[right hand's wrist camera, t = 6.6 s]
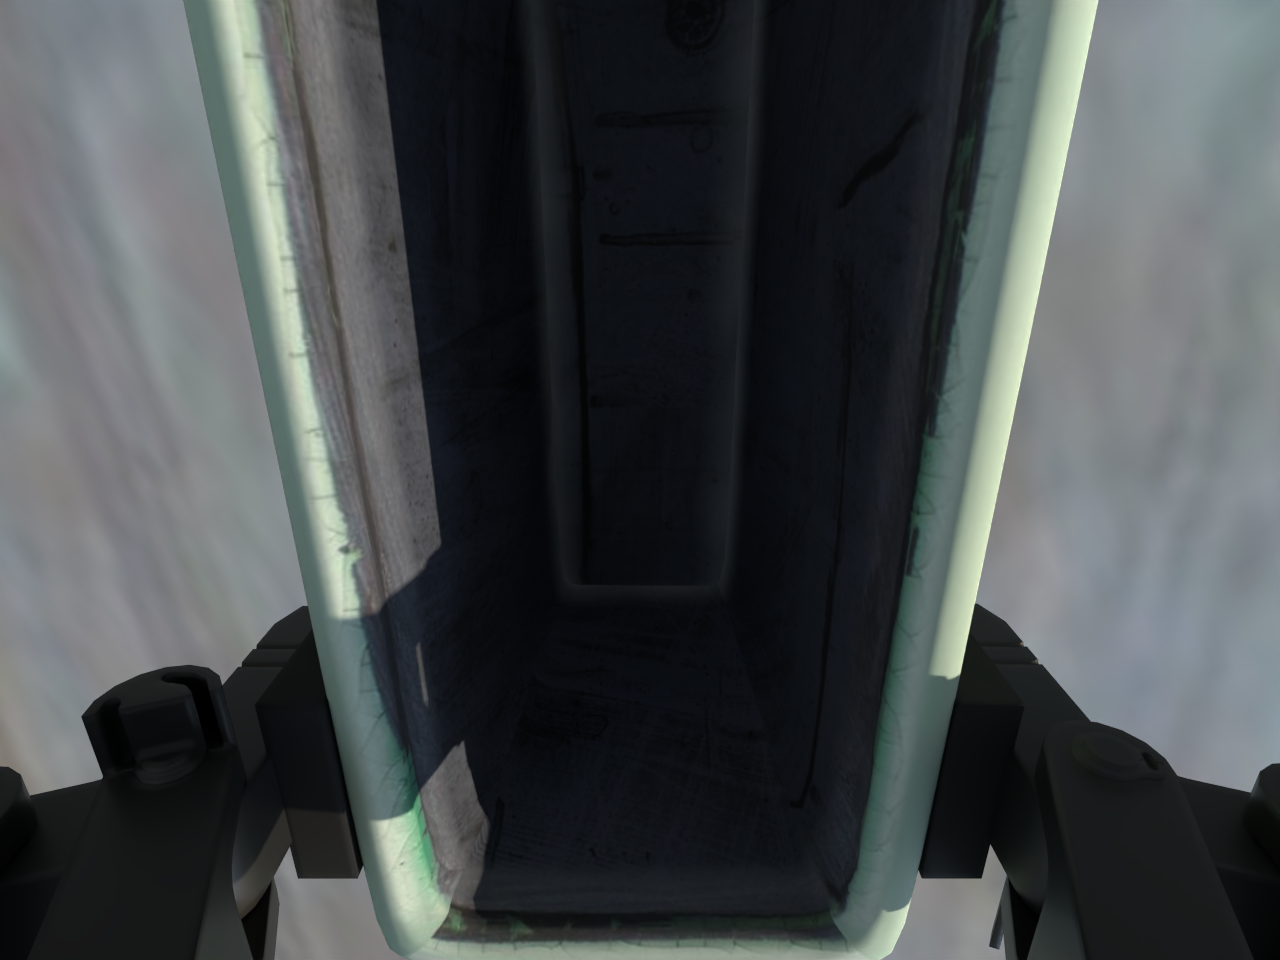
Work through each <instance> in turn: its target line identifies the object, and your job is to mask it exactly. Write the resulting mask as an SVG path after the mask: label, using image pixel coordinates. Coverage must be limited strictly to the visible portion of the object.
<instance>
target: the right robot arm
mask: <svg viewBox="0 0 1280 960" xmlns="http://www.w3.org/2000/svg"><path fill="white" fill-rule="evenodd" d="M81 717H82V720H83V723H84V725H85V728H86V731H87V733H88V736H89V739H90V742H91V744H92V747H93V750H94V753H95V755H96V758H97V761H98V763H99V766H100V769H101V772H102V774H103V778H102V779H101V780H97V781H94V782H90V783H85V784H81V785H76V786H72V787H67V788H63V789H58V790H54V791H49V792H45V793H40V794H36V795H31V796H29V793H28V791H27V788H26V786H25V784H24V781H23V779H22V777H21V775H20V774H19V773H17V772H16V771H14V770H13V769H11V768H9V767H0V960H274V957H275V946H276V935H277V924H278V914H279V899H278V893H277V888H276V884H275V881H274V875H275V873H276V871H277V869H278V867H279V866H280V864H281V862H282V860H283V858H284V856H285V854H286V852H287V851H288V849H289V847H290V848H291V852H292V856H293V860H294V864H295V868H296V872H297V876H298V878H358V876H359V874H360V871H361V869H362V867H363V862H362V858H361V854H360V850H359V845H358V840H357V836H356V831H355V826H354V822H353V817H352V812H351V808H350V803H349V798H348V794H347V789H346V784H345V779H344V775H343V770H342V765H341V760H340V756H339V751H338V746H337V741H336V737H335V732H334V727H333V722H332V718H331V713H330V708H329V703H328V699H327V695H326V690H325V685H324V681H323V676H322V671H321V666H320V661H319V656H318V652H317V647H316V642H315V637H314V632H313V628H312V623H311V618H310V613H309V608H308V606H302V607H300V608H299V609H297V610H296V611H294V612H293V613H291V614H289V615H288V616H286V617H285V618H283V619H282V620H280V621H278V622H277V623H275V624H274V625H273V626H272V628H271V629H270V630H269V631H268V632H267V634H266V635H265V636H264V637H263V638H262V639H261V641H260V642H259V643H258V644H257V649H253V650H252V651H251V652H250V654H249V655H248V656H247V657H246V658H245V659H244V661H243V662H242V667H238V668H237V669H236V670H235V671H234V672H233V674H232V675H231V676H230V677H229V678H228V680H227V681H226V682H225V683H224V684H223V685H222V683H221V679H220V676H219V675H218V674H216V673H215V672H214V671H212V670H211V669H209V668H206V667H200V666H194V665H184V666H173V667H165V668H162V669H158V670H155V671H151V672H147V673H144V674H140V675H138V676H136V677H134V678H132V679H129V680H127V681H125V682H123V683H121V684H119V685H116V686H115V687H113V688H112V689H110V690H109V691H107V692H106V693H105V694H103V695H102V696H100V697H99V698H98V699H96V700H95V701H94V702H93V703H92V704H91V705H90V707H89V708H88V709H87V710H86V712H85V713H84V714H83V715H82V716H81ZM990 844H991V846H992V848H993V850H994V851H995V853H996V855H997V857H998V859H999V861H1000V863H1001V864H1002V866H1003V868H1004V870H1005V872H1006V874H1007V877H1006V881H1005V884H1004V888H1003V892H1002V895H1001V899H1000V903H999V907H998V910H997V914H996V918H995V921H994V925H993V929H992V934H991V939H990V945H989V947H992V948H996V949H999V948H1000V944H1001V941H1002V937H1003V934H1004V944H1005V954H1006V960H1280V763H1278V764H1271V765H1270V766H1268V767H1266V768H1265V769H1263V770H1262V771H1260V773H1259V775H1258V777H1257V780H1256V782H1255V785H1254V787H1253V789H1252V792H1251V793H1249V792H1245V791H1240V790H1236V789H1231V788H1227V787H1222V786H1218V785H1213V784H1209V783H1204V782H1200V781H1195V780H1191V779H1186V778H1183V777H1179V776H1177V775H1176V773H1175V772H1174V770H1173V769H1172V767H1171V766H1170V765H1169V763H1168V762H1167V760H1166V759H1165V758H1164V757H1163V756H1161V755H1160V754H1159V753H1158V752H1157V751H1155V750H1154V749H1153V748H1152V747H1150V746H1149V745H1148V744H1147V743H1145V742H1143V741H1141V740H1139V739H1138V738H1136V737H1134V736H1132V735H1130V734H1128V733H1126V732H1124V731H1122V730H1119V729H1116V728H1113V727H1110V726H1107V725H1104V724H1100V723H1097V722H1091V721H1090V720H1089V719H1088V718H1087V717H1086V715H1085V714H1084V713H1083V712H1082V711H1081V710H1080V708H1079V707H1078V706H1077V705H1076V704H1075V703H1074V701H1073V700H1072V699H1071V698H1070V697H1069V695H1068V694H1067V693H1066V692H1065V691H1064V690H1063V688H1062V687H1061V686H1060V685H1059V684H1058V683H1057V681H1056V680H1055V679H1054V678H1053V677H1052V676H1051V674H1050V673H1049V672H1048V671H1047V670H1046V669H1045V667H1044V666H1043V665H1042V664H1038V659H1037V658H1036V657H1035V656H1034V654H1033V653H1032V652H1031V651H1030V650H1029V649H1028V647H1024V646H1023V642H1022V640H1021V639H1020V638H1019V637H1018V636H1017V635H1016V633H1015V632H1014V631H1013V630H1012V629H1011V628H1010V626H1009V625H1008V624H1007V623H1006V622H1005V621H1004V620H1002V619H1000V618H999V617H997V616H996V615H994V614H993V613H991V612H990V611H988V610H986V609H985V608H983V607H982V606H980V605H979V604H975V605H974V610H973V615H972V619H971V624H970V629H969V634H968V639H967V644H966V649H965V653H964V658H963V663H962V668H961V673H960V678H959V683H958V687H957V692H956V697H955V701H954V706H953V711H952V715H951V720H950V725H949V730H948V735H947V739H946V744H945V749H944V754H943V758H942V763H941V768H940V773H939V777H938V782H937V787H936V792H935V796H934V801H933V806H932V810H931V815H930V820H929V825H928V829H927V834H926V839H925V843H924V848H923V853H922V857H921V861H920V865H919V869H918V870H919V872H920V875H921V877H922V878H982V874H983V870H984V867H985V863H986V859H987V855H988V851H989V847H990Z"/></svg>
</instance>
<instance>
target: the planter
mask: <svg viewBox="0 0 1280 960" xmlns="http://www.w3.org/2000/svg"><path fill="white" fill-rule="evenodd" d="M183 2H184V7H185V11H186V16H187V21H188V26H189V31H190V36H191V41H192V46H193V50H194V55H195V60H196V65H197V70H198V75H199V80H200V85H201V89H202V94H203V99H204V104H205V109H206V114H207V119H208V124H209V128H210V133H211V138H212V143H213V148H214V153H215V158H216V163H217V167H218V172H219V177H220V182H221V187H222V192H223V197H224V202H225V206H226V211H227V216H228V221H229V226H230V231H231V236H232V241H233V245H234V250H235V255H236V260H237V265H238V270H239V275H240V280H241V284H242V289H243V294H244V299H245V304H246V309H247V314H248V319H249V323H250V328H251V333H252V338H253V343H254V348H255V352H256V357H257V362H258V367H259V372H260V377H261V381H262V386H263V391H264V396H265V401H266V405H267V410H268V415H269V420H270V425H271V430H272V434H273V439H274V444H275V449H276V454H277V459H278V463H279V468H280V473H281V478H282V483H283V488H284V492H285V497H286V502H287V507H288V512H289V516H290V521H291V526H292V531H293V536H294V541H295V545H296V550H297V555H298V560H299V565H300V570H301V574H302V579H303V584H304V589H305V594H306V599H307V603H308V608H309V613H310V618H311V623H312V628H313V632H314V637H315V642H316V647H317V652H318V656H319V661H320V666H321V671H322V676H323V681H324V685H325V690H326V695H327V699H328V703H329V708H330V713H331V718H332V722H333V727H334V732H335V737H336V741H337V746H338V751H339V756H340V760H341V765H342V770H343V775H344V779H345V784H346V789H347V794H348V798H349V803H350V808H351V812H352V817H353V822H354V826H355V831H356V836H357V840H358V845H359V850H360V854H361V858H362V862H363V866H364V870H365V874H366V878H367V882H368V886H369V890H370V894H371V898H372V902H373V906H374V910H375V914H376V918H377V921H378V923H379V925H380V928H381V930H382V932H383V935H384V937H385V939H386V941H387V944H388V946H389V948H390V949H391V950H393V951H394V952H396V953H397V954H399V955H400V956H402V957H404V958H407V959H409V960H880V959H882V958H884V957H885V956H887V955H888V954H890V953H891V952H892V950H893V948H894V946H895V943H896V941H897V939H898V937H899V935H900V933H901V930H902V928H903V926H904V924H905V920H906V916H907V912H908V909H909V905H910V901H911V897H912V893H913V889H914V885H915V881H916V877H917V873H918V869H919V865H920V861H921V857H922V853H923V848H924V843H925V839H926V834H927V829H928V825H929V820H930V815H931V810H932V806H933V801H934V796H935V792H936V787H937V782H938V777H939V773H940V768H941V763H942V758H943V754H944V749H945V744H946V739H947V735H948V730H949V725H950V720H951V715H952V711H953V706H954V701H955V697H956V692H957V687H958V683H959V678H960V673H961V668H962V663H963V658H964V653H965V649H966V644H967V639H968V634H969V629H970V624H971V619H972V615H973V610H974V605H975V600H976V595H977V590H978V585H979V581H980V576H981V571H982V566H983V561H984V556H985V551H986V547H987V542H988V537H989V532H990V527H991V522H992V517H993V513H994V508H995V503H996V498H997V493H998V488H999V483H1000V479H1001V474H1002V469H1003V464H1004V459H1005V454H1006V449H1007V445H1008V440H1009V435H1010V430H1011V425H1012V420H1013V415H1014V411H1015V406H1016V401H1017V396H1018V391H1019V386H1020V381H1021V377H1022V372H1023V367H1024V362H1025V357H1026V352H1027V347H1028V343H1029V338H1030V333H1031V328H1032V323H1033V318H1034V313H1035V308H1036V303H1037V299H1038V294H1039V289H1040V284H1041V279H1042V274H1043V269H1044V264H1045V259H1046V254H1047V250H1048V245H1049V240H1050V235H1051V230H1052V225H1053V220H1054V215H1055V210H1056V205H1057V200H1058V196H1059V191H1060V186H1061V181H1062V176H1063V171H1064V166H1065V161H1066V156H1067V151H1068V146H1069V142H1070V137H1071V132H1072V127H1073V122H1074V117H1075V112H1076V107H1077V102H1078V97H1079V93H1080V88H1081V83H1082V78H1083V73H1084V68H1085V63H1086V58H1087V53H1088V48H1089V43H1090V39H1091V34H1092V29H1093V24H1094V19H1095V14H1096V9H1097V4H1098V0H183Z"/></svg>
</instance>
